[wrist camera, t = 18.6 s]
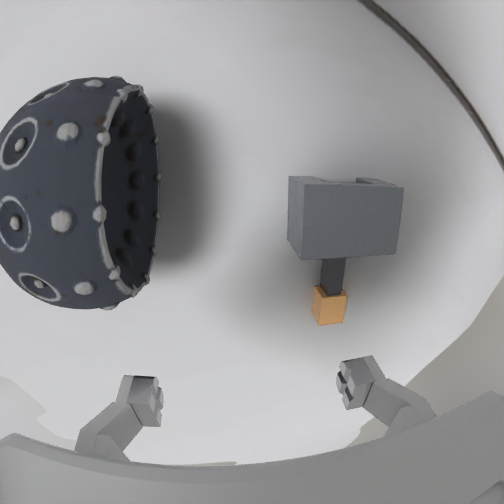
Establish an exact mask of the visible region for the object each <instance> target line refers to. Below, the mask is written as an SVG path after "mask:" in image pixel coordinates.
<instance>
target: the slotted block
mask: <svg viewBox="0 0 504 504" xmlns="http://www.w3.org/2000/svg"><path fill="white" fill-rule="evenodd" d="M403 190H404V188H403V187H400V186H397V185H393V184H390V183H387V182H384V181H381V180H378V179H367V178H356V183H330V182H325V181H323V180H320V179H318V178H315V177H311V176H289V191H288V232H287V240H288V242H289V243H290V245H291V246H292V248H293V249H294V251H295V252H296V253H297V255H298V256H299V258H300V259H301V260H311V259H327V258H343V257H359V256H374V255H389V254H395V251H396V245H397V239H398V232H399V225H400V217H401V209H402V200H403Z"/></svg>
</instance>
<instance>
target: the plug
mask: <svg viewBox="0 0 504 504" xmlns="http://www.w3.org/2000/svg"><path fill="white" fill-rule="evenodd" d="M345 260H346V257H343V258H327V259H322V270H321V280H320V286H314V296H313V306H312V314H313V316H314V318H315V320H316V321H317V323H318V325H319V326H321V325H328V324H336V323H343V318H344V312H345V307H346V301H347V295H346V293H345V292H344V291H343V289H342V283H343V276H344V268H345Z"/></svg>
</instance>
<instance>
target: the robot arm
mask: <svg viewBox="0 0 504 504" xmlns="http://www.w3.org/2000/svg"><path fill="white" fill-rule="evenodd" d="M339 368H340V370H341V371H340V372H339V373H338V374H337V378H336V383H337V388H338V391H339V392H340V393H341V394H343V398H342V401H343V403H344V405H345V408H346V410H349V409H354V408H359V407H363V408H365V409H366V410H367V411H368V412H370V413H371V414H372V415H373V416H375V417H376V418H378V419H379V420H380V421H381V422H383V423H384V424H385V425H387V426H388V427H389V428H388V430H387V431H386V433H385V435H384V436H383V437H382V438H379V439H376V440H372V441H369V442H366V443H362V444H359V445H355V446H351V447H348V448H344V449H340V450H335V451H331V452H327V453H322V454H317V455H312V456H307V457H301V458H295V459H289V460H282V461H274V462H265V463H256V464H244V465H227V466H178V465H161V464H149V463H139V462H131V461H130V460H129V459H128V458H127V457H126V455H125V454H124V453H123V450H124V449H125V448H126V447H127V446H128V444H129V443H130V442H131V441H132V440H133V438H134V437H135V436H136V435H137V434H138V432H139V431H140V430H141V429H142V428H143V427H142V426H150V427H160V426H161V418H162V414H161V412H160V410H161V409H162V408H163V402H164V401H163V392H162V389H161V388H160V387H159V386H158V384H159V381H158V379H157V377H149V376H131V375H124V377H123V378H122V381H121V385H120V388H119V391H118V395H117V399H116V402H112V403H111V404H110V405H109V406H107V407H106V408H105V409H104V410H103V411H102V412H101V413H99V414H98V415H97V416H96V417H95V418H94V419H92V420H91V421H90V422H89V423H88V424H87V425H85V426H84V427H83V428H82V429H81V430H80V433H79V436H78V439H77V443H76V447H75V450H74V451H72V450H68V449H64V448H60V447H57V446H54V445H50V444H46V443H43V442H40V441H38V440H35V439H32V438H29V437H26V436H23V435H21V434H17V433H12V434H10V435H8V436H6V437H4V438H3V439H1V440H0V504H504V396H503V395H500V394H498V393H496V392H493V391H486V392H483V393H481V394H480V395H478V396H476V397H474V398H472V399H471V400H469V401H467V402H465V403H463V404H461V405H459V406H457V407H455V408H453V409H451V410H449V411H447V412H445V413H443V414H441V415H438V416H436V414H435V413H434V411H433V409H432V408H431V406H430V404H429V403H428V401H427V399H426V398H424V397H422V396H420V395H419V394H417V393H415V392H413V391H411V390H409V389H407V388H405V387H404V386H402V385H400V384H398V383H396V382H395V381H393V380H391V379H389V378H388V379H386V378H385V376H384V374H383V373H382V371H381V369H380V367H379V366H378V364H377V362H376V361H375V359H374V357H373V356H366V357H362V358H356V359H351V360H346V361H342V362H341V363H340V366H339Z"/></svg>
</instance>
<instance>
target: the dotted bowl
mask: <svg viewBox="0 0 504 504" xmlns="http://www.w3.org/2000/svg"><path fill="white" fill-rule="evenodd" d="M143 91H144V90H143V87H142V86H141V85H132V84H129V83H126V82H125V81H124V79H123V78H122V77H119V76H112V77H110V78H99V77H91V78H82V79H75V80H70V81H67V82H64V83H61V84H58V85H56V86H53V87H51V88H49V89H47V90H45V91H43V92H41V93H40V94H38V95H37V96H35V97H34V98H33V99H31V100H30V101H28V102H27V103H26V104H25V105H24V106H23V107H21V108H20V109H19V110H18V111H17V112H16V113H15V114H14V116H13V117H12V118H11V119H10V120H9V121H8V123H7V124H6V125H5V127H4V128H3V130H2V131H1V133H0V264H1V265H2V267H3V268H4V270H5V271H6V272H7V274H8V275H9V276H10V277H11V278H12V280H13V281H14V282H15V283H16V284H17V285H18V286H19V287H21V288H22V289H23V290H24V291H26V292H27V293H29V294H30V295H32V296H34V297H35V298H37V299H40V300H42V301H44V302H46V303H49V304H51V305H55V306H59V307H65V308H72V309H95V308H101V309H104V310H112V309H114V308H115V307H116V306H117V305H118V304H119V303H120V302H122V301H124V300H126V299H128V298H130V297H135V296H136V295H137V294H138V292H139V291H141V289H142V288H143V287H144V285H147V284H149V281H150V278H149V274H150V270H151V266H152V263H153V257H154V256H155V255H156V253H157V250H156V248H155V246H156V237H157V227H158V220H159V218H160V212H159V181H160V179H161V174H160V172H159V164H158V147H157V144H158V142H159V137H158V136H157V135H156V131H155V123H154V119H153V114H152V112H153V109H154V107H153V106H152V105H151V104H150V103H149V101H148V99H147V97H146V95H145V94H144V93H143Z"/></svg>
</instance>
